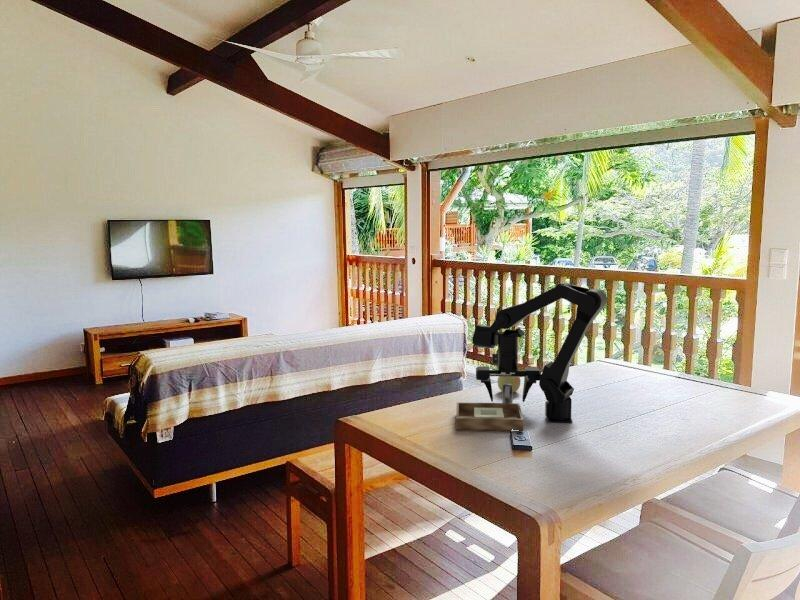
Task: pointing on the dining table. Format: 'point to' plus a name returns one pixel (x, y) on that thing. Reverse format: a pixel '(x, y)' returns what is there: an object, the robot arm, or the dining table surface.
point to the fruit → (509, 381)
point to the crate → (506, 424)
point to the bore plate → (488, 413)
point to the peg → (507, 393)
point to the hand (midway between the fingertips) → (507, 401)
